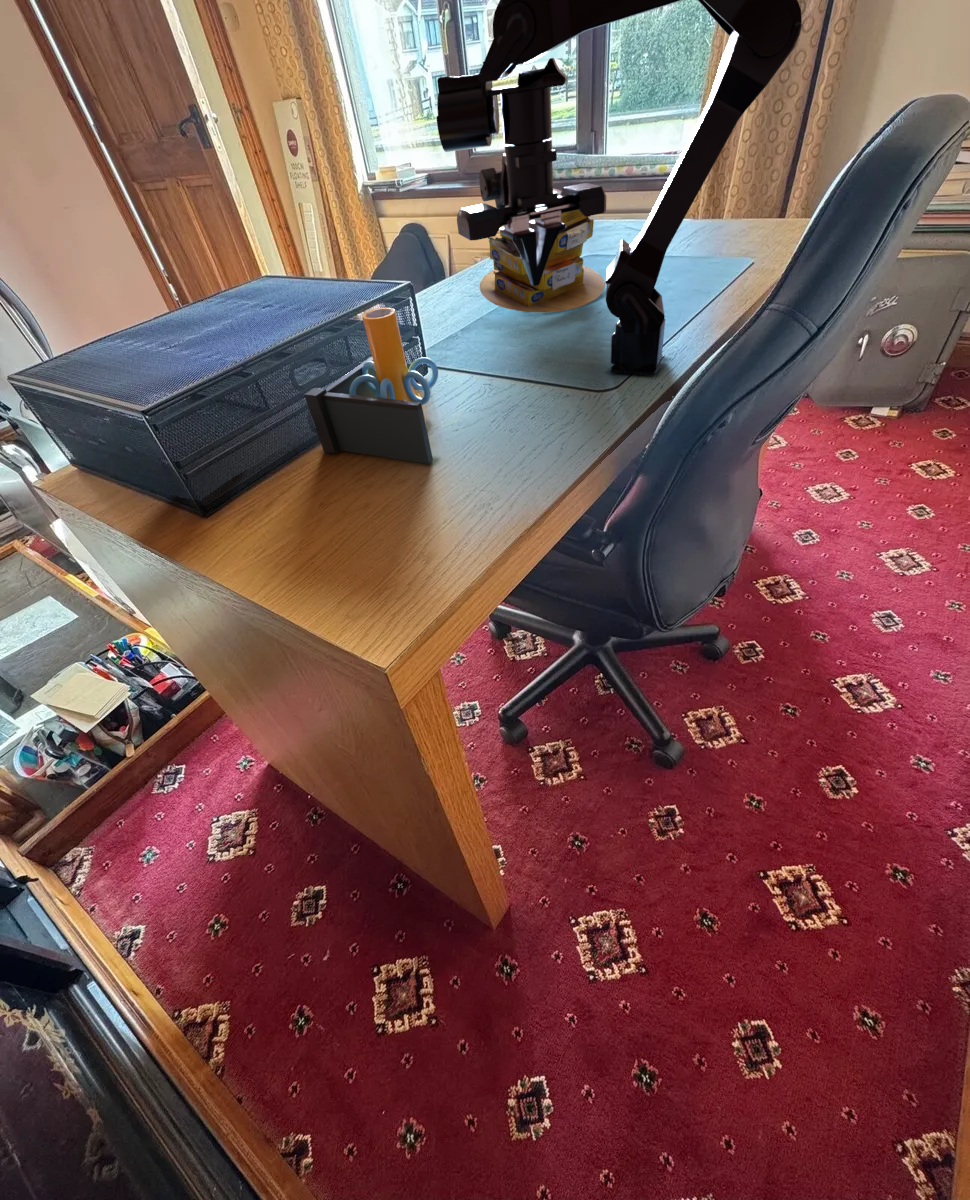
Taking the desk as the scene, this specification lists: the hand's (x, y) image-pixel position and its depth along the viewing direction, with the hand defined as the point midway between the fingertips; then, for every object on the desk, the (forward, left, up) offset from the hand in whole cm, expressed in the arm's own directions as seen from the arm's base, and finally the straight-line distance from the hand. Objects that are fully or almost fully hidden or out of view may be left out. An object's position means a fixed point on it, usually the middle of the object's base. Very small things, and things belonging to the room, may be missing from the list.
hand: (535, 284), depth 78 cm
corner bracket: (+11, +21, -12) cm, 27 cm away
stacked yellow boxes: (+14, -36, -12) cm, 40 cm away
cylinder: (+11, +22, -12) cm, 27 cm away
